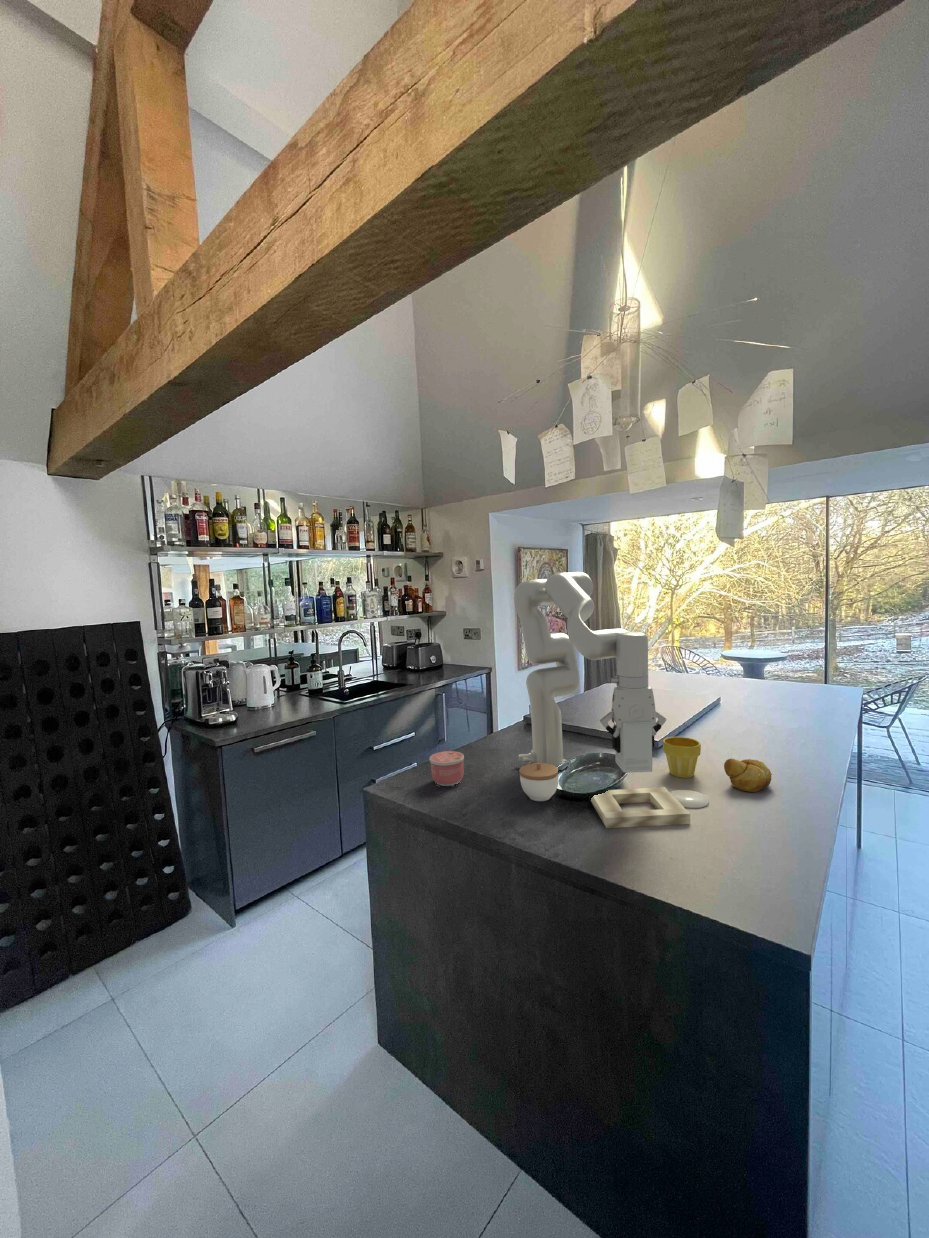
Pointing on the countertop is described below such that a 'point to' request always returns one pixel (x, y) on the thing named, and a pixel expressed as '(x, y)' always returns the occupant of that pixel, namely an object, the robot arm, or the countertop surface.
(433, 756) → the container
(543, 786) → the lidded jar
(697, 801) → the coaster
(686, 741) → the plant pot
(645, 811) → the board
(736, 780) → the bread roll
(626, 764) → the supplement box
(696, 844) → the countertop surface
